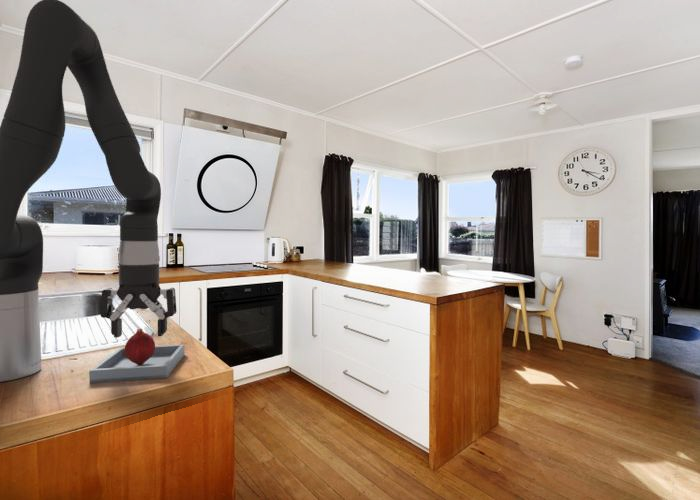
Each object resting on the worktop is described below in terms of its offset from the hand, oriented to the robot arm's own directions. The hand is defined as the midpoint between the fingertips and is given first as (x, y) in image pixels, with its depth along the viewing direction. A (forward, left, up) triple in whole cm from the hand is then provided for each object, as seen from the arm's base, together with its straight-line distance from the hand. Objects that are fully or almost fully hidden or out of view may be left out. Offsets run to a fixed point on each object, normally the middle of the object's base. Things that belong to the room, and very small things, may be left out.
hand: (139, 336), depth 79 cm
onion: (0, 0, -7) cm, 7 cm away
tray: (0, 0, -7) cm, 7 cm away
